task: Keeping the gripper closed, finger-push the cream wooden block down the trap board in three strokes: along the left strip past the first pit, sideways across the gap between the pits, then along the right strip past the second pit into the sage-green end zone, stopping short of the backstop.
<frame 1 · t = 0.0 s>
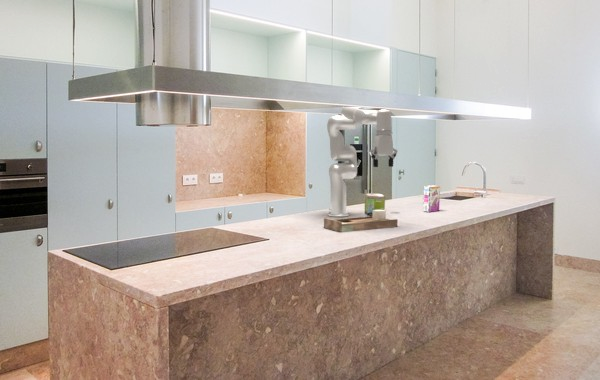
hand: (383, 166, 269), 31 cm above the countertop, tool pointing down, fingers open, 9 cm apart
cream block: (379, 218, 277), point 3 cm above the countertop, touching trap board
candy bar box: (431, 211, 329), on the countertop
trap board: (360, 227, 268), on the countertop
tea box: (374, 220, 292), on the countertop
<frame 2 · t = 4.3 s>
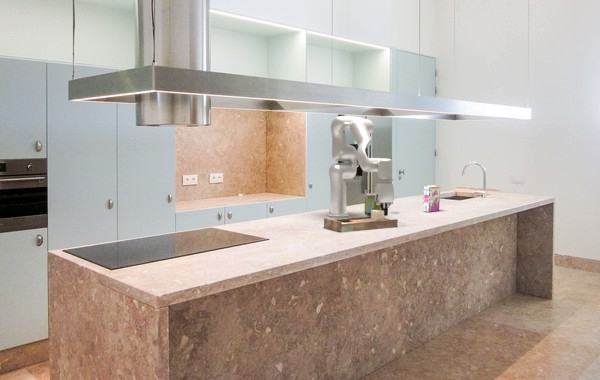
hand: (384, 215, 279), 5 cm above the countertop, tool pointing down, fingers closed
cream block: (377, 218, 277), point 3 cm above the countertop, touching trap board
everything else where it was.
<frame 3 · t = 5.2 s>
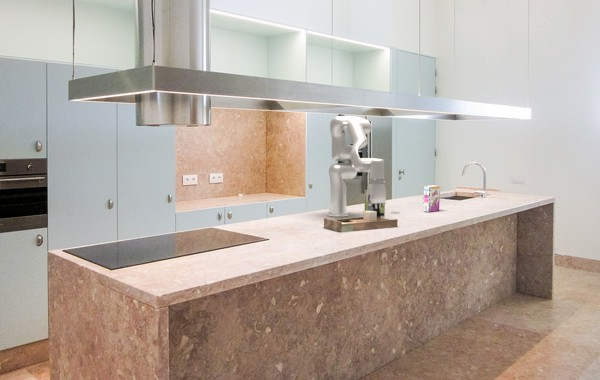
hand: (376, 216, 276), 5 cm above the countertop, tool pointing down, fingers closed
cream block: (369, 219, 274), point 3 cm above the countertop, touching gripper
everything else where it was.
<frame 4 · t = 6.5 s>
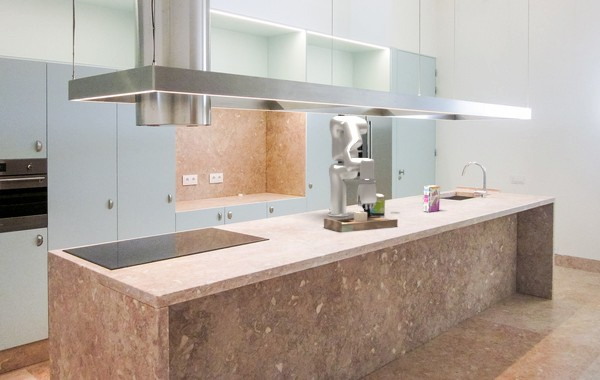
hand: (367, 216, 273), 5 cm above the countertop, tool pointing down, fingers closed
cream block: (360, 220, 271), point 3 cm above the countertop, touching gripper, trap board
everything else where it was.
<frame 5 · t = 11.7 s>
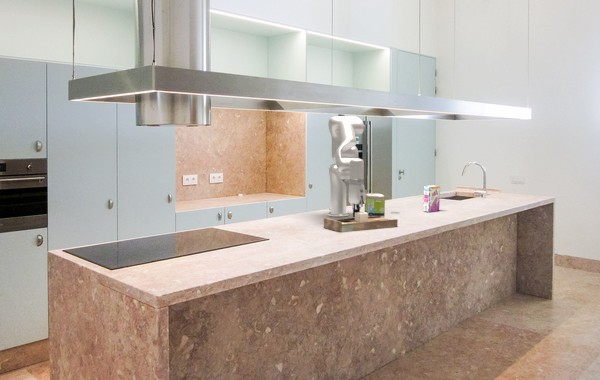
hand: (356, 216, 272), 5 cm above the countertop, tool pointing down, fingers closed
cream block: (361, 221, 268), point 3 cm above the countertop, touching trap board
everything else where it was.
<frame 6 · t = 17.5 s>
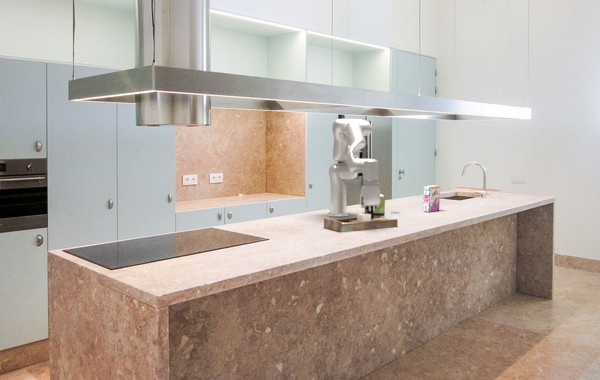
hand: (370, 218, 266), 5 cm above the countertop, tool pointing down, fingers closed
cream block: (364, 222, 264), point 3 cm above the countertop, touching gripper
everything else where it was.
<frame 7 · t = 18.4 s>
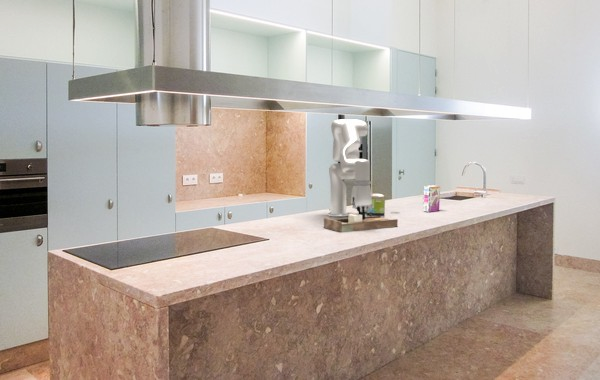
hand: (361, 219, 264), 5 cm above the countertop, tool pointing down, fingers closed
cream block: (355, 223, 261), point 3 cm above the countertop, touching gripper, trap board
everything else where it was.
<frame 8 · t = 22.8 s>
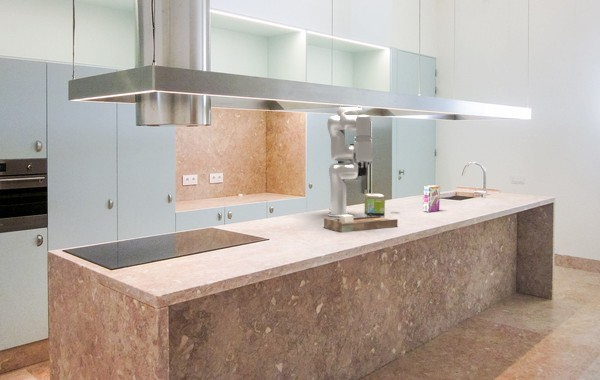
hand: (362, 175, 265), 27 cm above the countertop, tool pointing down, fingers closed
cream block: (346, 224, 259), point 3 cm above the countertop, touching trap board
everything else where it was.
at the end: cream block inside the target area (1.3 cm from its centre), point 3.0 cm above the countertop; cream block tilted 0° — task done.
